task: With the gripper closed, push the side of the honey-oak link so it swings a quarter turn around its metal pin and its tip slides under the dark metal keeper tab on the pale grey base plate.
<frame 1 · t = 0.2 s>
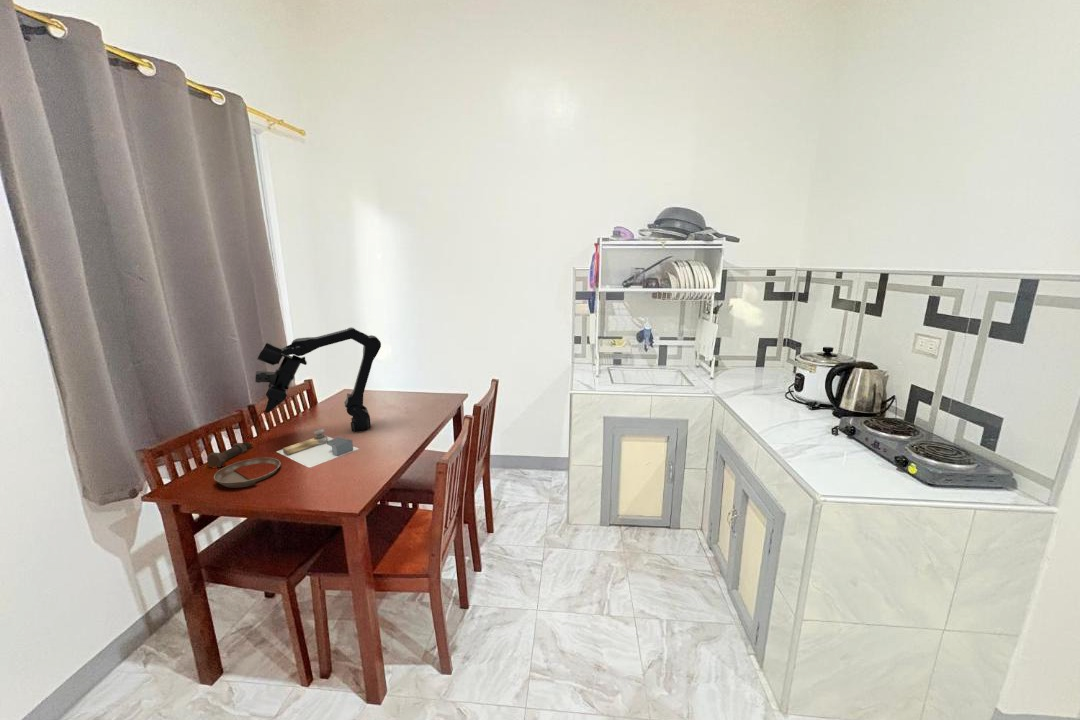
hand: (267, 408, 159), 15 cm above the table, tool tilted 30°, fingers open, 9 cm apart
base plate: (318, 452, 156), on the table
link: (305, 441, 157), point 4 cm above the table, hinge at 0.0°
plant saucer: (249, 478, 139), on the table
keeper: (343, 452, 154), resting on base plate
bolt: (233, 459, 153), on the table
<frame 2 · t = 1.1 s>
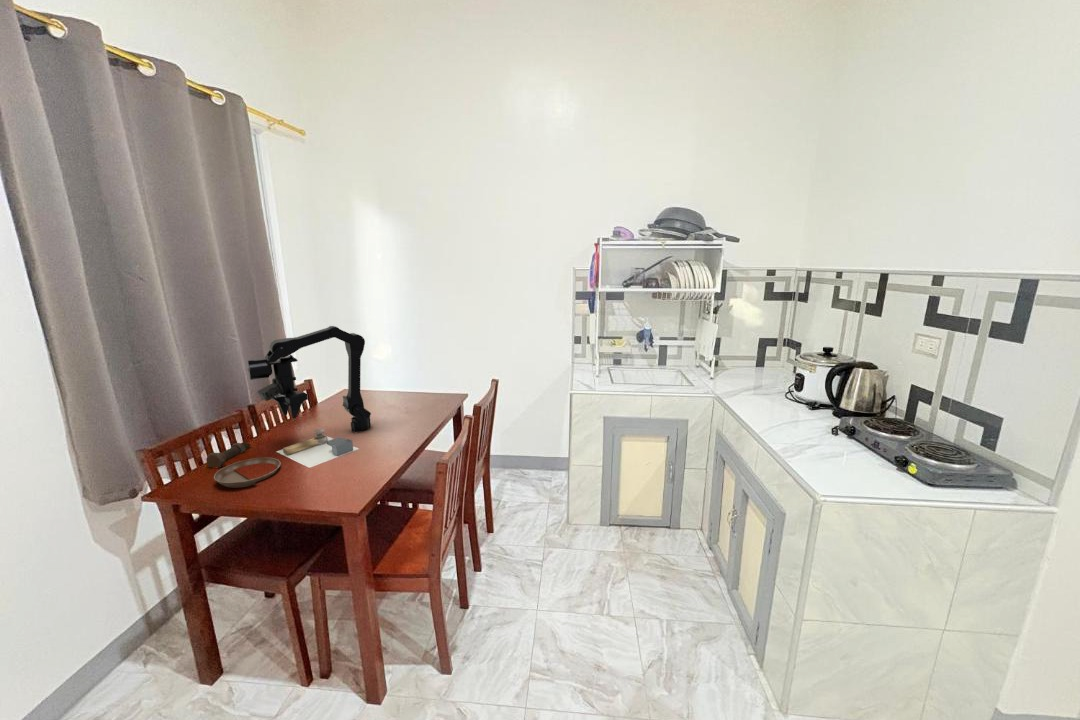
hand: (289, 416, 158), 12 cm above the table, tool pointing down, fingers open, 6 cm apart
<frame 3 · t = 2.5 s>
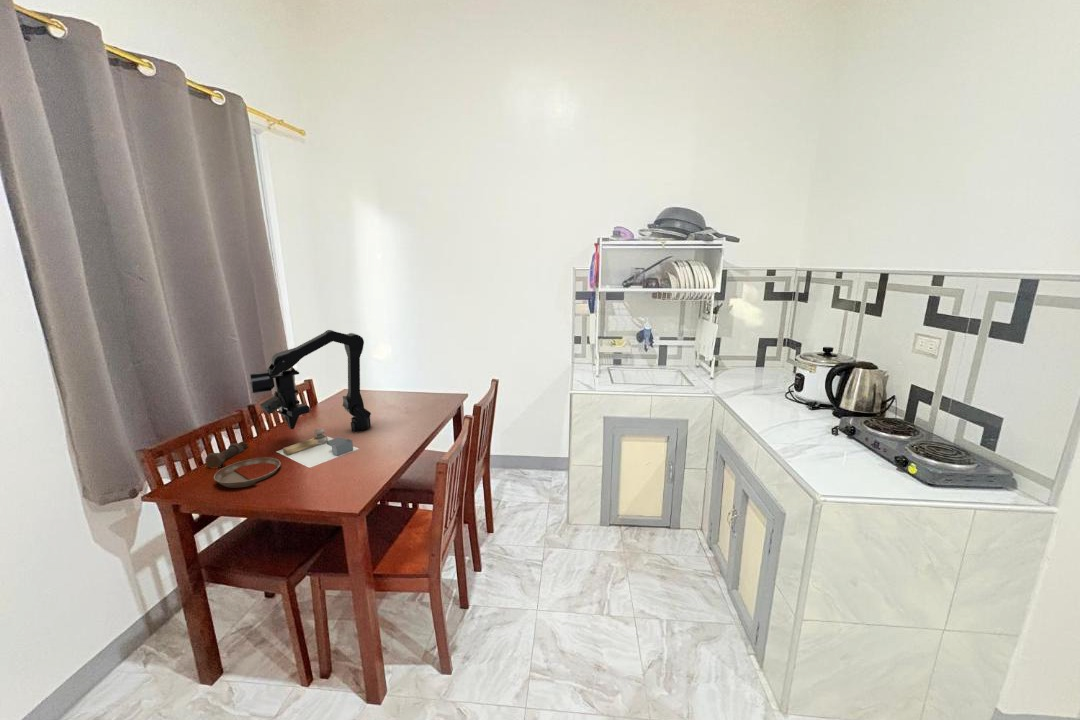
hand: (292, 428, 159), 7 cm above the table, tool pointing down, fingers closed
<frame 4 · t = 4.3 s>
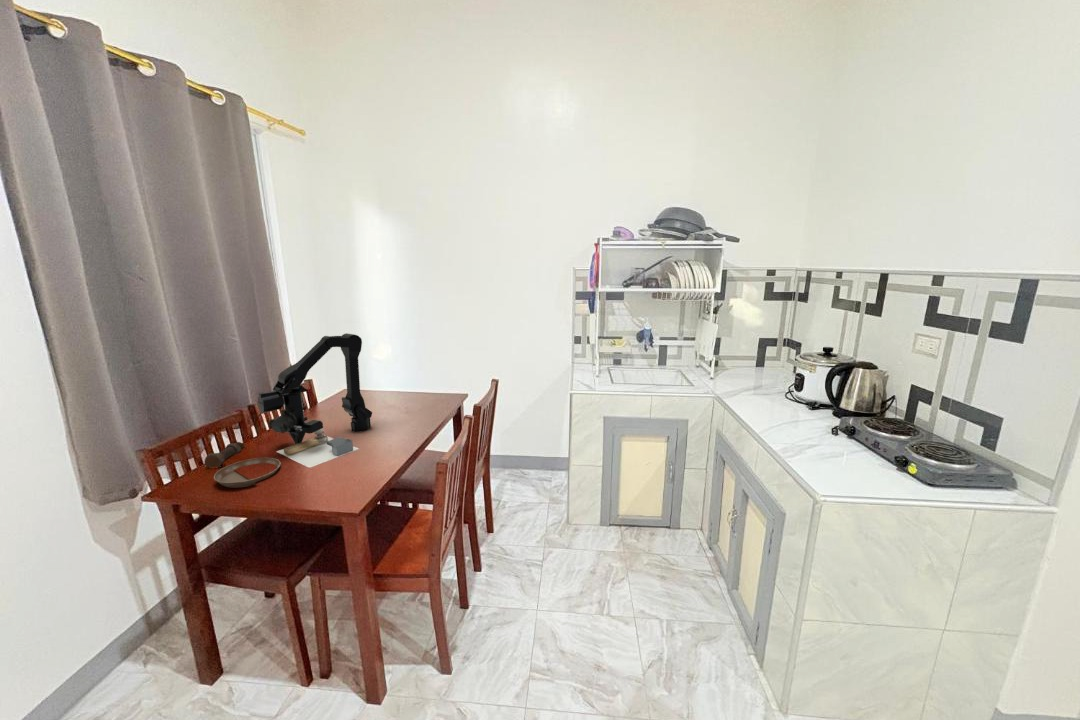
hand: (298, 446, 158), 2 cm above the table, tool pointing down, fingers closed
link: (306, 441, 157), point 4 cm above the table, hinge at 3.4°, touching gripper
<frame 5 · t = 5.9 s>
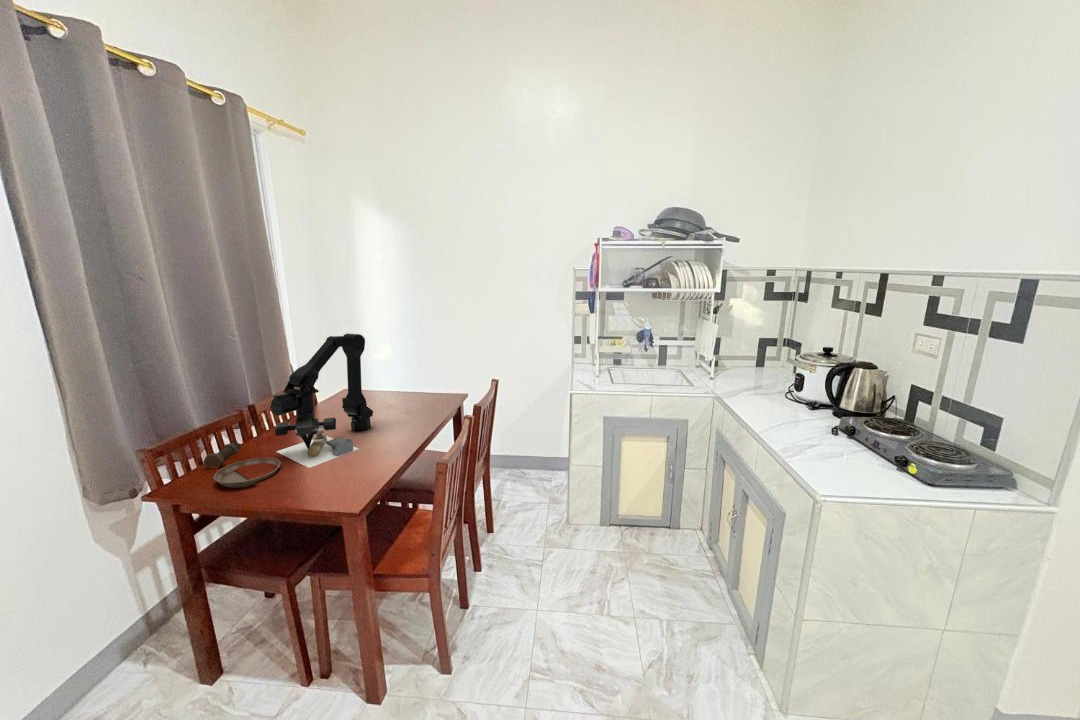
hand: (308, 449, 155), 2 cm above the table, tool pointing down, fingers closed
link: (316, 441, 157), point 4 cm above the table, hinge at 50.4°, touching gripper
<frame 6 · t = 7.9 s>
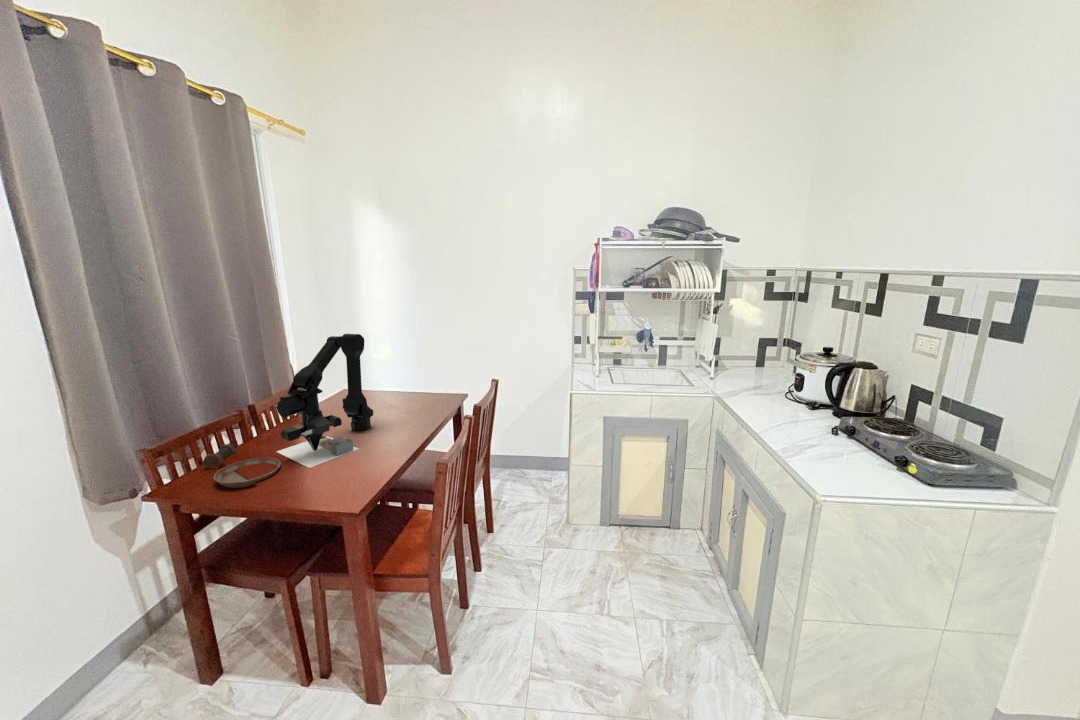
hand: (315, 450, 154), 2 cm above the table, tool pointing down, fingers closed
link: (327, 439, 159), point 4 cm above the table, hinge at 89.3°
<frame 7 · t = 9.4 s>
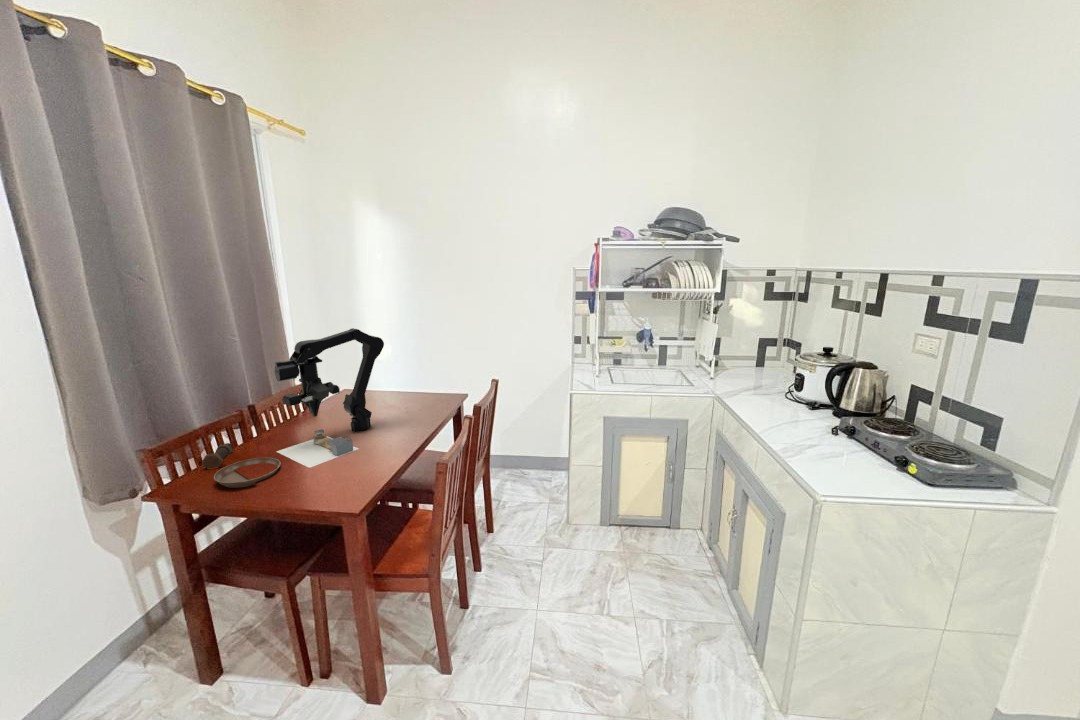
hand: (315, 416, 162), 11 cm above the table, tool pointing down, fingers closed
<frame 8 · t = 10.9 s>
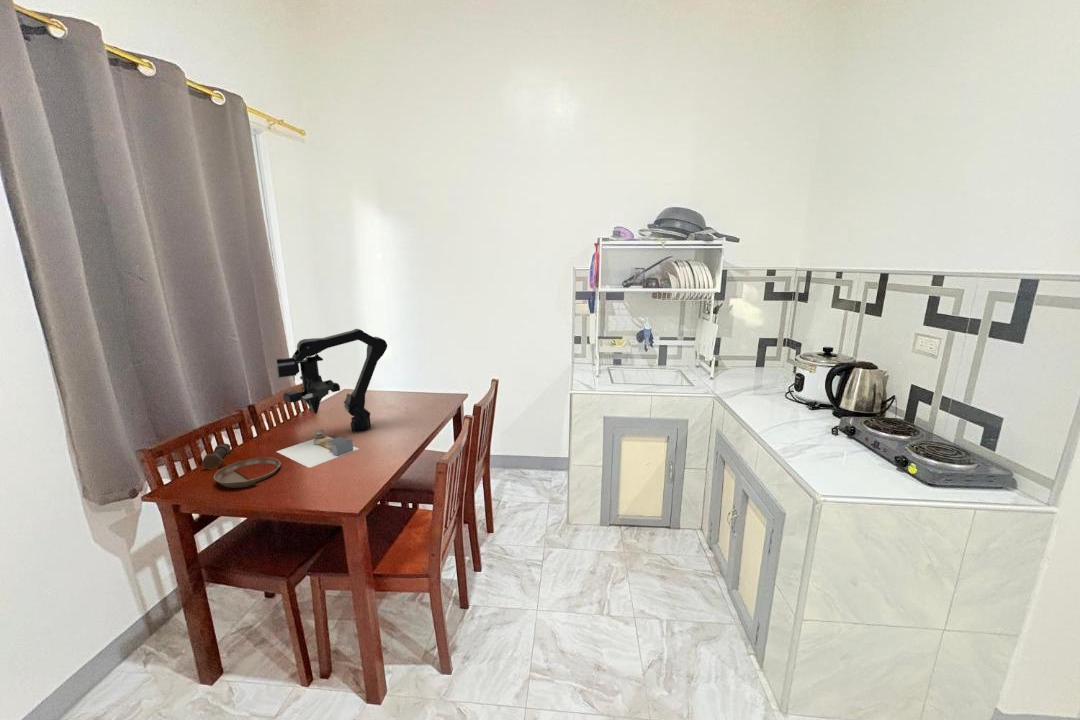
hand: (315, 413, 164), 11 cm above the table, tool pointing down, fingers closed
at the end: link at +89° (first picture: +0°); plant saucer moved 0.5 cm from its start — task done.
